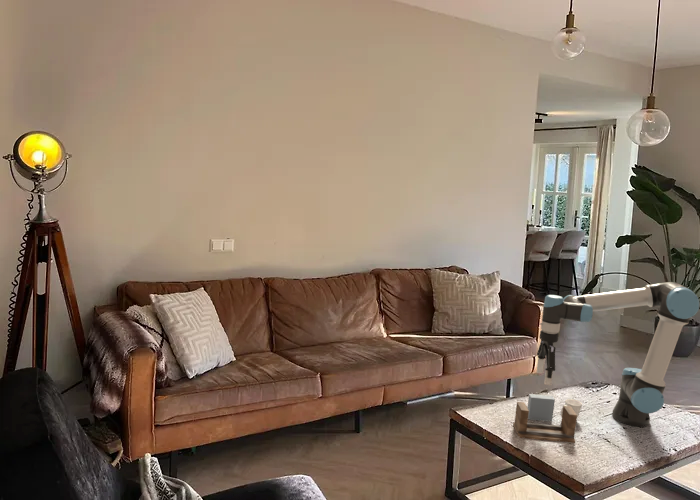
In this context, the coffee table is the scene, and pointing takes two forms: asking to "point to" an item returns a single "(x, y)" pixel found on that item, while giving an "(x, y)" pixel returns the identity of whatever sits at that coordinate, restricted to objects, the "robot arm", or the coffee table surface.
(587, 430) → the coffee table surface
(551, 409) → the gray rectangular block
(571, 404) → the cup
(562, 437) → the wooden u-shaped holder
